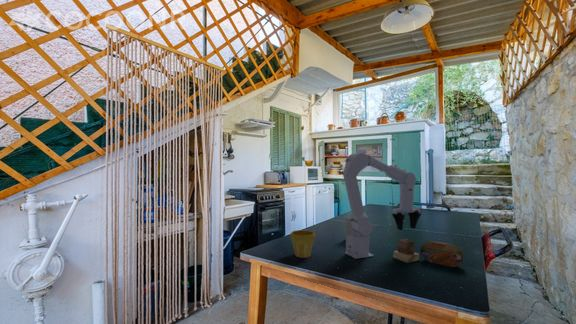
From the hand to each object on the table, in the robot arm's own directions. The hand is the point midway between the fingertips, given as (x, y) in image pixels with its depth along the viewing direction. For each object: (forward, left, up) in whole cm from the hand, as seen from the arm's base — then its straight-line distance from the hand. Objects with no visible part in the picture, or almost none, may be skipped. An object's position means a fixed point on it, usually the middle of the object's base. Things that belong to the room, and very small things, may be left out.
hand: (406, 228), depth 122 cm
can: (-12, +24, -11) cm, 29 cm away
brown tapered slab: (+2, -16, -11) cm, 19 cm away
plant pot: (-46, +12, -11) cm, 49 cm away
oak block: (-7, -7, -11) cm, 15 cm away
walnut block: (-7, -7, -8) cm, 12 cm away
